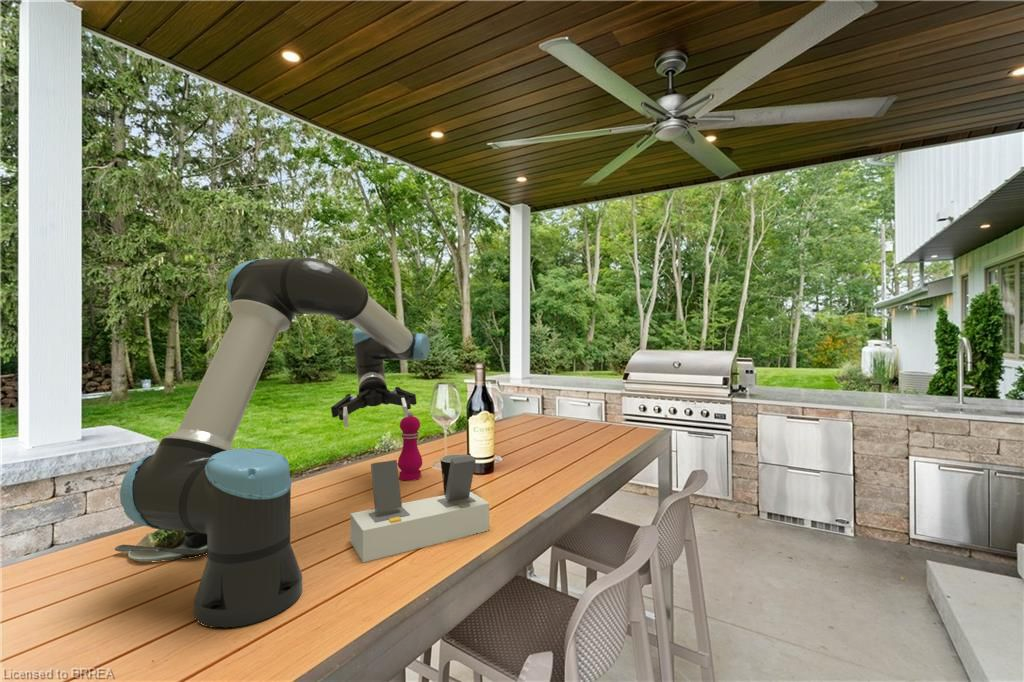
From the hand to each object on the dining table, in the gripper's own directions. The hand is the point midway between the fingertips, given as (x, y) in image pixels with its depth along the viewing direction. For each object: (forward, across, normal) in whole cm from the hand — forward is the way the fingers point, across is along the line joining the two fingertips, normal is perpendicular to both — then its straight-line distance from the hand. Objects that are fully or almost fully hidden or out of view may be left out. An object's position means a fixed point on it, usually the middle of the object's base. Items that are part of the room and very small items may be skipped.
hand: (376, 416), depth 108 cm
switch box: (+18, -6, -22) cm, 29 cm away
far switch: (+15, -14, -17) cm, 27 cm away
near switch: (+18, 0, -14) cm, 23 cm away
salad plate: (+6, +40, -19) cm, 44 cm away
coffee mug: (-5, -18, -28) cm, 34 cm away
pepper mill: (-24, -7, -30) cm, 39 cm away
